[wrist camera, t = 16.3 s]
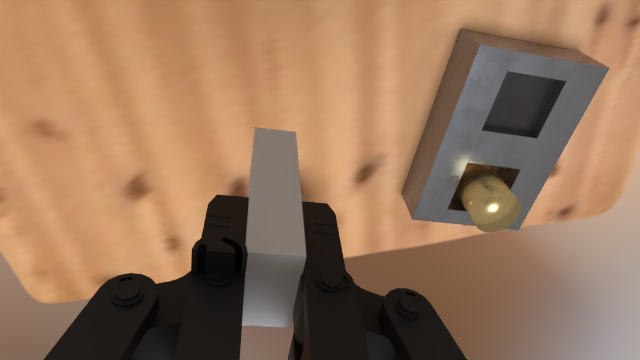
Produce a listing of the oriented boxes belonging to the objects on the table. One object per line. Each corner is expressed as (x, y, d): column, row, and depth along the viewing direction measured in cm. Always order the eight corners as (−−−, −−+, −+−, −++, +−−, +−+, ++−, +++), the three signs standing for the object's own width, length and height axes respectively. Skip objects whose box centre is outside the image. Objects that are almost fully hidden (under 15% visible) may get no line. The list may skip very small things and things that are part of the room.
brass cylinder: (453, 147, 46) (484, 192, 40) (492, 152, 47) (528, 196, 40) (439, 182, 48) (466, 230, 42) (476, 186, 49) (509, 234, 43)
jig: (460, 29, 39) (480, 44, 36) (579, 51, 41) (609, 67, 38) (401, 193, 49) (412, 219, 45) (500, 204, 51) (518, 230, 47)
